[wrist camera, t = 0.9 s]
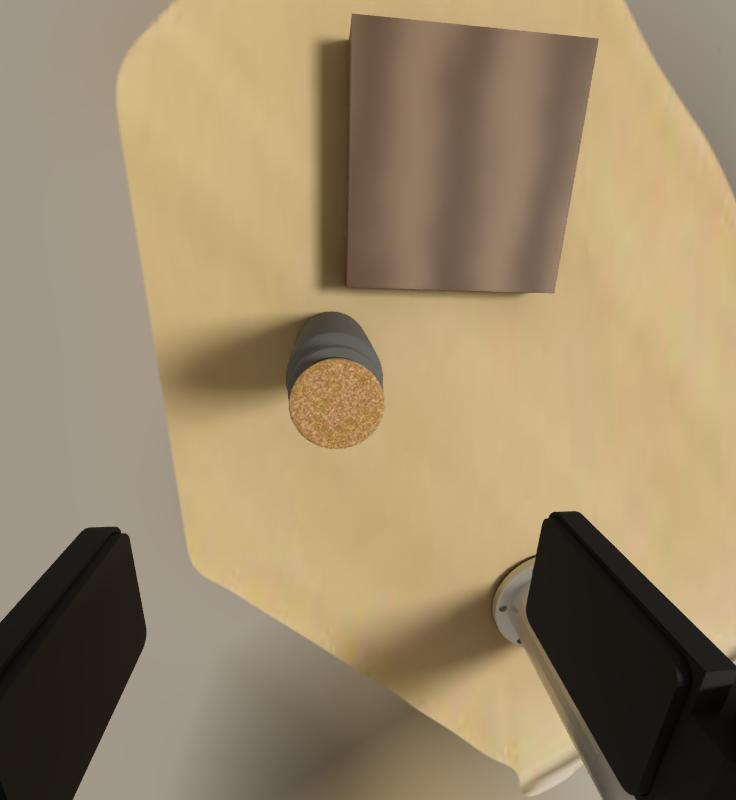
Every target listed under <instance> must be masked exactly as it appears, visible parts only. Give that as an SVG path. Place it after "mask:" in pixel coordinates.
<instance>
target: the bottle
mask: <svg viewBox="0 0 736 800" xmlns="http://www.w3.org/2000/svg"><path fill="white" fill-rule="evenodd" d="M286 385H287V390H288V399H289V411H290V416H291V419H292V421H293V423H294V425H295V427H296V428H297V430H298V431H299V432H300V434H301V435H302V436H304V437H305V438H306V439H307V440H308V441H310V442H312V443H314V444H316V445H318V446H321V447H325V448H330V449H342V448H348V447H352V446H354V445H357V444H359V443H361V442H362V441H364V440H366V439H367V438H368V437H369V436H370V435H371V434H372V433H373V432H374V431H375V430H376V428H377V427H378V425H379V423H380V421H381V419H382V416H383V413H384V394H383V373H382V368H381V364H380V361H379V358H378V356H377V354H376V352H375V351H374V349H373V347H372V345H371V343H370V341H369V340H368V338H367V336H366V334H365V333H364V331H363V329H362V328H361V326H360V325H359V324H358V323H357V322H356V321H355V320H354V319H352V318H351V317H349V316H348V315H345V314H343V313H339V312H325V313H321V314H318V315H316V316H314V317H312V318H311V319H310V320H308V321H307V322H306V323H305V325H304V326H303V328H302V329H301V331H300V333H299V335H298V338H297V340H296V343H295V346H294V348H293V351H292V354H291V357H290V360H289V363H288V366H287V372H286Z"/></svg>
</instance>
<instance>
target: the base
mask: <svg viewBox="0 0 736 800" xmlns="http://www.w3.org/2000/svg"><path fill="white" fill-rule="evenodd" d="M598 40H599V39H596V38H587V37H577V36H567V35H557V34H547V33H537V32H528V31H518V30H508V29H498V28H488V27H478V26H469V25H459V24H449V23H439V22H429V21H419V20H409V19H400V18H390V17H380V16H370V15H360V14H352V19H351V28H350V37H349V87H348V147H347V208H346V268H345V285H346V286H347V287H364V288H396V289H429V290H461V291H494V292H526V293H554V291H555V286H556V280H557V274H558V268H559V263H560V257H561V251H562V246H563V240H564V234H565V228H566V223H567V217H568V211H569V205H570V200H571V194H572V188H573V183H574V177H575V171H576V165H577V160H578V154H579V148H580V143H581V137H582V131H583V125H584V120H585V114H586V108H587V103H588V97H589V91H590V85H591V80H592V74H593V68H594V63H595V57H596V51H597V45H598Z"/></svg>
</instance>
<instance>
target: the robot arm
mask: <svg viewBox="0 0 736 800" xmlns="http://www.w3.org/2000/svg"><path fill="white" fill-rule="evenodd" d="M492 612H493V617H494V621H495V623H496V625H497V627H498V629H499V631H500V632H501V633H502V635H503V636H504V637H505V638H506V639H507V640H509V641H510V642H511V643H513V644H515V645H518V646H521V647H524V649H525V651H526V653H527V654H528V656H529V658H530V660H531V662H532V664H533V666H534V668H535V670H536V672H537V674H538V676H539V678H540V680H541V682H542V684H543V686H544V687H545V689H546V691H547V693H548V695H549V697H550V699H551V701H552V703H553V705H554V707H555V709H556V711H557V713H558V715H559V717H560V718H561V720H562V722H563V724H564V726H565V728H566V730H567V732H568V734H569V736H570V738H571V740H572V742H573V744H574V746H575V748H576V749H577V751H578V753H579V755H580V757H581V759H582V761H583V763H584V765H585V767H586V768H587V771H588V773H589V775H590V777H591V779H592V780H593V782H594V784H595V786H596V788H597V790H598V792H599V794H600V796H601V798H602V800H736V665H735V664H734V663H733V662H732V661H731V660H730V659H729V658H728V657H726V656H725V655H724V654H723V653H722V652H721V651H720V650H719V649H718V648H717V647H716V646H715V645H714V644H713V643H712V642H711V641H710V640H709V639H708V638H707V637H706V636H705V635H704V634H703V633H702V632H701V631H700V630H699V629H698V628H697V627H696V626H695V625H694V624H693V623H692V622H691V621H690V620H689V619H688V618H687V617H686V616H685V615H684V614H683V613H682V612H681V611H680V610H679V609H678V608H677V607H676V606H675V605H674V604H673V603H672V602H671V601H670V600H669V599H667V598H666V597H665V596H664V595H663V594H662V593H661V592H660V591H659V590H658V589H657V588H656V587H655V586H654V585H653V584H652V583H651V582H650V581H649V580H648V579H647V578H646V577H645V576H644V575H643V574H642V573H641V572H640V571H639V570H638V569H637V568H636V567H635V566H634V565H633V564H632V563H631V562H630V561H629V560H628V559H627V558H626V557H625V556H624V555H623V554H622V553H621V552H620V551H619V550H618V549H617V548H616V547H615V546H614V545H613V544H612V543H611V542H610V541H609V540H607V539H606V538H605V537H604V536H603V535H602V534H601V533H600V532H599V531H598V530H597V529H596V528H595V527H594V526H593V525H592V524H591V523H590V522H589V521H588V520H587V519H586V518H585V517H584V516H583V515H582V514H581V513H579V512H576V511H569V512H553V513H551V514H550V516H549V518H548V519H545V520H544V521H543V524H542V528H541V533H540V538H539V543H538V548H537V553H536V557H535V558H532V559H530V560H528V561H526V562H524V563H522V564H521V565H519V566H518V567H517V568H515V569H514V570H513V571H511V572H510V573H509V574H508V576H507V577H506V578H505V579H504V580H503V581H502V583H501V584H500V586H499V587H498V589H497V591H496V594H495V596H494V600H493V604H492ZM145 640H146V625H145V619H144V614H143V608H142V603H141V598H140V592H139V587H138V582H137V576H136V571H135V566H134V560H133V555H132V549H131V544H130V539H129V536H128V535H127V534H125V533H121V530H120V529H119V528H118V527H92V528H86V529H84V530H83V531H82V532H81V533H80V534H79V535H78V536H77V537H76V538H75V540H74V541H73V542H72V543H71V544H70V545H69V546H68V547H67V549H66V550H65V551H64V552H63V553H62V554H61V555H60V556H59V557H58V559H57V560H56V561H55V562H54V563H53V564H52V565H51V566H50V568H49V569H48V570H47V571H46V572H45V573H44V574H43V575H42V577H41V578H40V579H39V580H38V581H37V582H36V583H35V584H34V585H33V587H32V588H31V589H30V590H29V591H28V592H27V593H26V594H25V596H24V597H23V598H22V599H21V600H20V601H19V602H18V603H17V604H16V606H15V607H14V608H13V609H12V610H11V611H10V612H9V613H8V615H7V616H6V617H5V618H4V619H3V620H2V621H1V622H0V800H73V798H74V796H75V793H76V791H77V789H78V787H79V785H80V783H81V781H82V778H83V776H84V774H85V772H86V770H87V768H88V765H89V763H90V761H91V759H92V757H93V755H94V753H95V751H96V748H97V746H98V744H99V742H100V740H101V738H102V735H103V733H104V731H105V729H106V727H107V725H108V723H109V721H110V718H111V716H112V714H113V712H114V710H115V708H116V706H117V703H118V701H119V699H120V697H121V695H122V693H123V690H124V688H125V686H126V684H127V682H128V680H129V678H130V675H131V673H132V671H133V669H134V667H135V664H136V663H137V660H138V658H139V656H140V654H141V652H142V649H143V647H144V644H145Z"/></svg>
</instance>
